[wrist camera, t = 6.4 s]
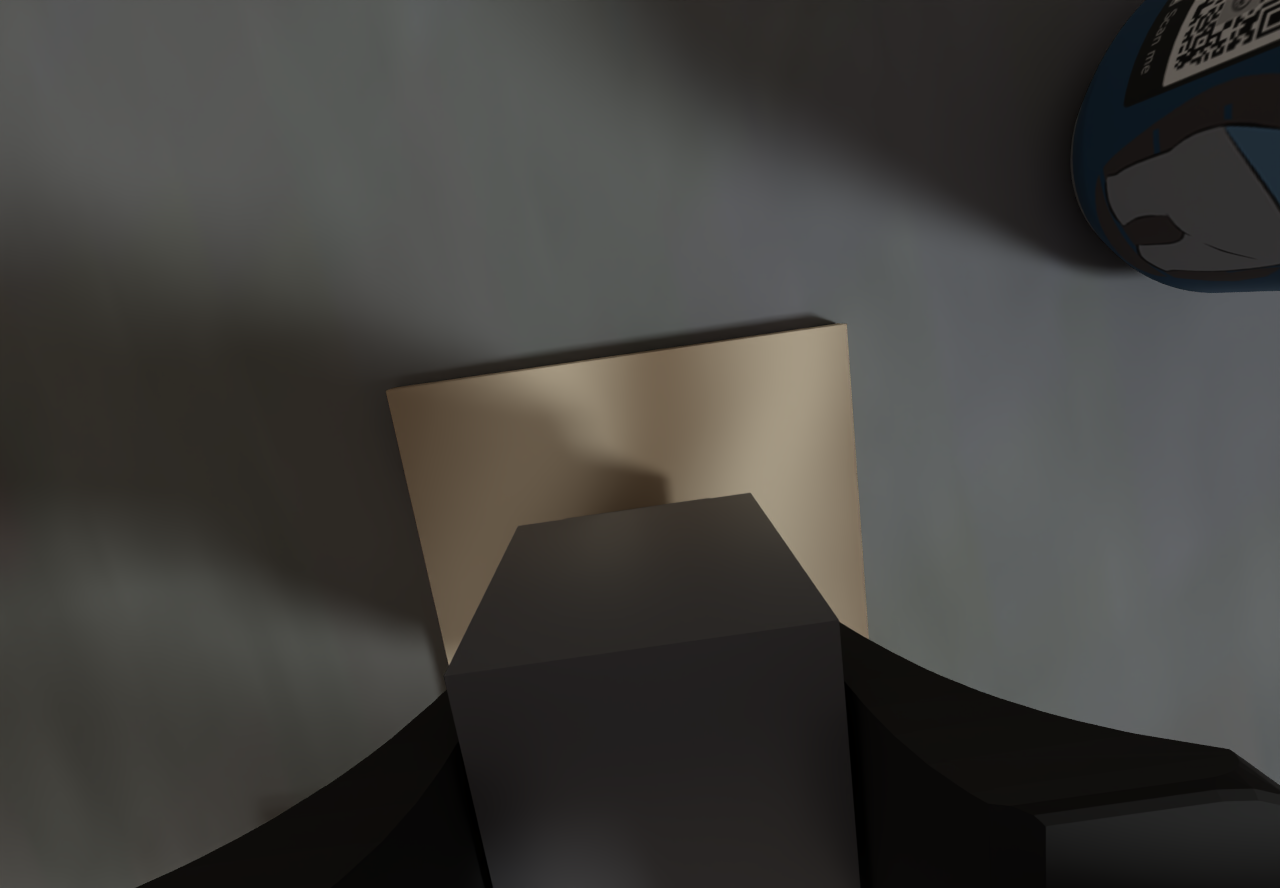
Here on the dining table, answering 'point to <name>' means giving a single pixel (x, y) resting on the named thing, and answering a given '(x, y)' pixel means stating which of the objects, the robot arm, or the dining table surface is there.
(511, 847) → the block
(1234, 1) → the soda can
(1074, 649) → the dining table surface
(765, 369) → the pad
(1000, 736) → the robot arm
